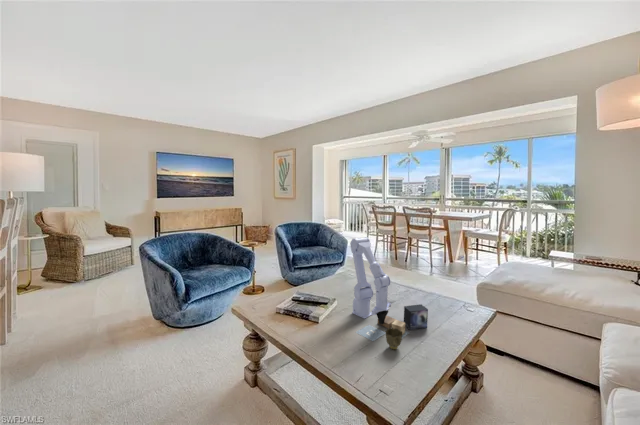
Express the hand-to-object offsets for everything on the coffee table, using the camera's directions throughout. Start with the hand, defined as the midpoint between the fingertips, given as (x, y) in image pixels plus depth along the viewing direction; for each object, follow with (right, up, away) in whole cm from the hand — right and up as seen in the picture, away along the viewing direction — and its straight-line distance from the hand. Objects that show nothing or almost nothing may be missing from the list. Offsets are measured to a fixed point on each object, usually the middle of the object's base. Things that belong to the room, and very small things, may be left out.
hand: (381, 323), depth 144 cm
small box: (+18, -2, 0) cm, 18 cm away
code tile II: (+7, -2, -6) cm, 10 cm away
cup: (+1, -4, -19) cm, 19 cm away
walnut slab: (+4, -2, +3) cm, 5 cm away
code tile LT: (-7, -2, -6) cm, 9 cm away
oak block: (+7, -2, -6) cm, 10 cm away
